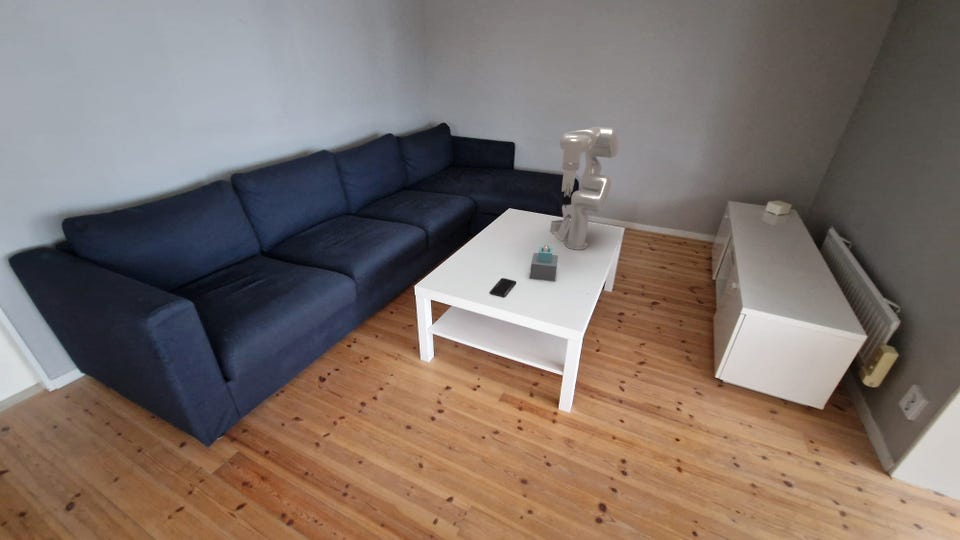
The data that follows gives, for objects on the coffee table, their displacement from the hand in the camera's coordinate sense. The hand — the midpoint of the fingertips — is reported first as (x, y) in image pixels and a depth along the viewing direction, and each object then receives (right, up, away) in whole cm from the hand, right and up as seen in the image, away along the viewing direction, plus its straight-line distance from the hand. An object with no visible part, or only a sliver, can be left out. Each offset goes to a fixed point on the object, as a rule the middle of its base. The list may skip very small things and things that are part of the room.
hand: (566, 204), depth 188 cm
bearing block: (-10, -33, +6) cm, 35 cm away
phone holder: (+8, -11, +48) cm, 50 cm away
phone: (-31, -40, -6) cm, 51 cm away
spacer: (-10, -26, +2) cm, 28 cm away
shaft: (-10, -33, +6) cm, 35 cm away
